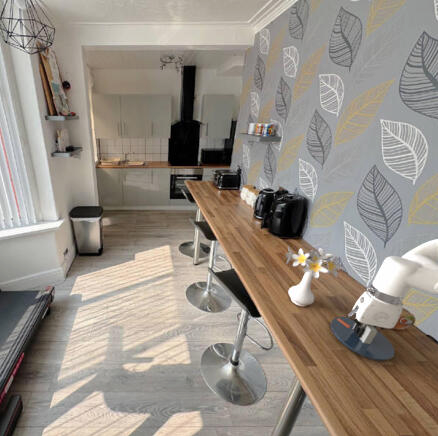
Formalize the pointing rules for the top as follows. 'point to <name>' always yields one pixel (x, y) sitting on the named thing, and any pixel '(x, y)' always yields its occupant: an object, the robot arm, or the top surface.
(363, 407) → the top surface
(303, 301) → the flower vase
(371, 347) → the rotary dial knob
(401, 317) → the tin
